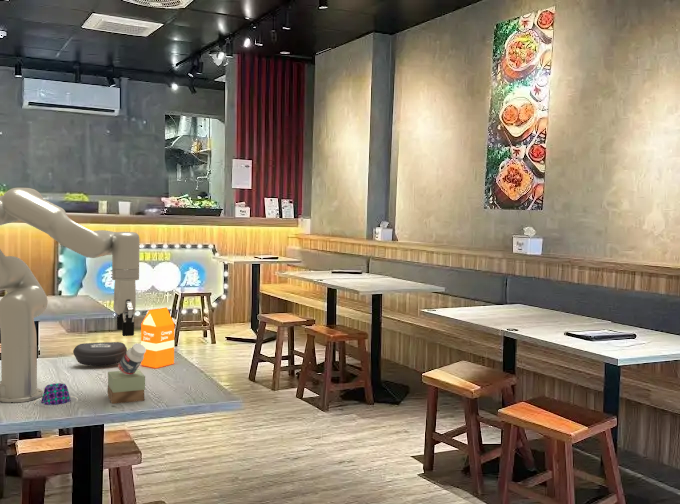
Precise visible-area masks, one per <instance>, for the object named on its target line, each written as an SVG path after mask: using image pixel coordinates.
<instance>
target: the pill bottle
mask: <svg viewBox="0 0 680 504" xmlns="http://www.w3.org/2000/svg"><path fill="white" fill-rule="evenodd" d="M145 352H146V348H145V347H144V346H143V345H141V343H134V344H133V345H132V347H130V348H127V352H126V353H125V355H124V356H123V358H122V360H121V361H120V363H118V365H117V366H118V367H117V368H118V371H121V372H122V373H123V374H125V375H133V374H134V373H135V371H136V370H137V369H138V368H139V366H140V365H141V362H142V361H143V359H144V354H145Z"/></svg>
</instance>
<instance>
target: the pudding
mask: <svg viewBox="0 0 680 504" xmlns="http://www.w3.org/2000/svg"><path fill="white" fill-rule="evenodd" d="M71 398H74V399H76V400H75V401H74V402H73V403H77V402H78V400H79V398H78V397H77V396H74V395H71V394H70V393H69V389H68V386H67V384H66V383H60V382H58V383H51V384H50V383H49V384H48V385H46V386H45V387H44V390H43V395H42V396H41V397H40V398H38V399H35V400H33V404H34V405H36V404H37V402H39V401H40V404H43V403H44V404H43V405H46V406H45V407H47V406H51V405H52V406H53V408H55V407H57V408H58V406H59V405H62V407H64V406H65V404H67V403H69V402H71ZM36 401H37V402H36ZM35 403H36V404H35ZM69 405H70V403H69V404H67V406H69ZM36 406H39V407H40V405H38V404H37V405H36ZM45 407H44V408H45Z"/></svg>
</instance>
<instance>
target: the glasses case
mask: <svg viewBox="0 0 680 504" xmlns="http://www.w3.org/2000/svg"><path fill="white" fill-rule="evenodd" d="M127 350H128V348H127V345H126V344H124V343H123V342H119V341H106V342H87V343H85V342H84V343H79V344H77V345H76V346H75V347H74V349H73V350H72V352H73V353H72V354H73V355H74V357H75V360H76V361H77V362H78V364H80V365H84V366H92V367H95V366H96V367H101V366H112V365H117V364H118V365H119V363H120V361H121V360H122V358H123V356H124V355H125V353H126V352H127Z"/></svg>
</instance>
